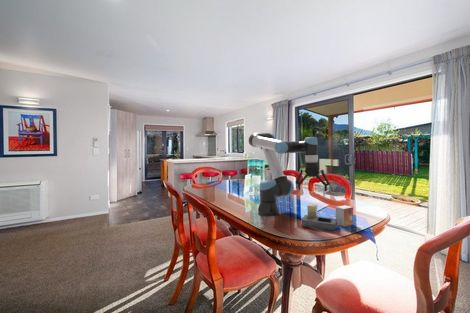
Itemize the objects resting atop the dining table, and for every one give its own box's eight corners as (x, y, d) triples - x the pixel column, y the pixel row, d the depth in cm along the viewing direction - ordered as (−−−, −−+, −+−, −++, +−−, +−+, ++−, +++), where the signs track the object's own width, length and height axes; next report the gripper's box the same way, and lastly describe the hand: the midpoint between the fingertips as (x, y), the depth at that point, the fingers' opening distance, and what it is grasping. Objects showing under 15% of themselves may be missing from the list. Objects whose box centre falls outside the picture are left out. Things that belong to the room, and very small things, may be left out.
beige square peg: (307, 221, 128) (307, 205, 128) (309, 219, 133) (309, 203, 132) (316, 222, 126) (315, 206, 125) (317, 220, 130) (317, 204, 130)
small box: (343, 227, 117) (343, 209, 117) (335, 224, 122) (335, 206, 122) (353, 224, 120) (353, 207, 120) (345, 221, 126) (344, 204, 125)
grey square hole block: (301, 226, 121) (301, 219, 120) (305, 221, 129) (305, 214, 129) (335, 231, 111) (335, 224, 111) (337, 225, 120) (336, 218, 119)
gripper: (290, 162, 131) (291, 195, 132) (332, 162, 118) (333, 198, 119) (293, 161, 138) (294, 193, 138) (334, 161, 125) (335, 196, 125)
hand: (312, 195), depth 128 cm, fingers open, 13 cm apart
